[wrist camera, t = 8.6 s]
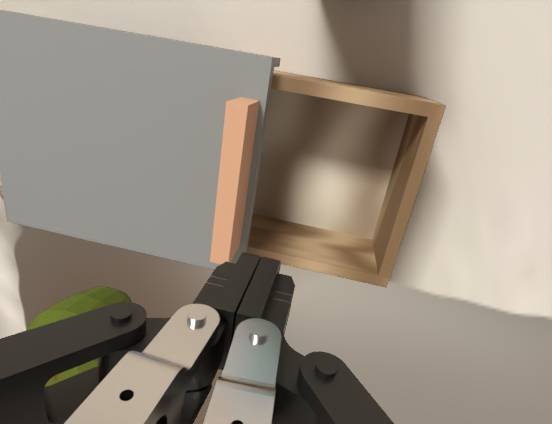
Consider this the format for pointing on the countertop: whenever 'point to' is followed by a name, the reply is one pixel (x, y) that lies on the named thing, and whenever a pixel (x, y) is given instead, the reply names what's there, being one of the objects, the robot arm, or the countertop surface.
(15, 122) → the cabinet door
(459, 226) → the countertop surface
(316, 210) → the wooden box
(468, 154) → the countertop surface
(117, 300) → the green faceted ovoid
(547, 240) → the countertop surface
